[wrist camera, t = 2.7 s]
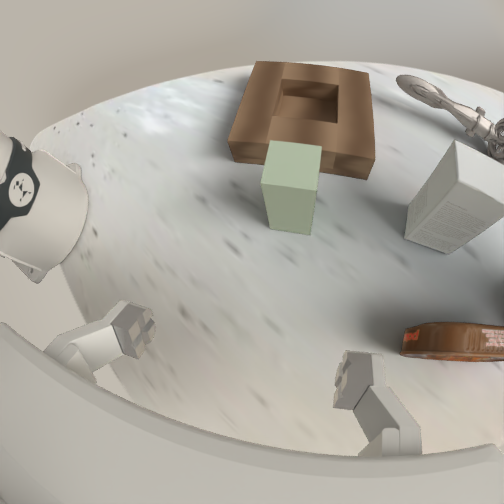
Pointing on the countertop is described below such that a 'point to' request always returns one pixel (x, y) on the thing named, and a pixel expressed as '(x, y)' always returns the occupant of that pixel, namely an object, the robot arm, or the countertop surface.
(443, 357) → the tin
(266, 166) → the green block
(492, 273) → the countertop surface
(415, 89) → the spaceship
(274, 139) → the walnut holder
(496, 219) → the skincare box
